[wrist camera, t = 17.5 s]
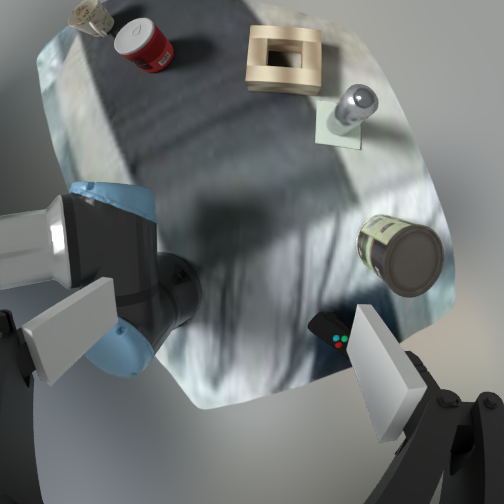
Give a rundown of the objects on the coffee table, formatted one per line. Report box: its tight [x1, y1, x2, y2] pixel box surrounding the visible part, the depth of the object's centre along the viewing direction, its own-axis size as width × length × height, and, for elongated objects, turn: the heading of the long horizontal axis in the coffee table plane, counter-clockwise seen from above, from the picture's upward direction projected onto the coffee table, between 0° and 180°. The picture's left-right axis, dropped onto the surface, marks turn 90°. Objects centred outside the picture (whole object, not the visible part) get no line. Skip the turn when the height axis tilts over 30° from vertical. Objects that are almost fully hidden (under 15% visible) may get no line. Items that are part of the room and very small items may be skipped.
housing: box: [246, 26, 321, 96], centre depth 37 cm, size 12×12×5 cm
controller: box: [308, 312, 352, 360], centre depth 45 cm, size 4×12×10 cm, turn 54°
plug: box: [326, 84, 378, 136], centre depth 34 cm, size 4×4×15 cm
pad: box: [315, 100, 361, 150], centre depth 41 cm, size 8×8×1 cm
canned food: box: [114, 18, 174, 73], centre depth 36 cm, size 8×8×11 cm
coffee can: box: [356, 215, 444, 297], centre depth 39 cm, size 10×10×14 cm
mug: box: [68, 0, 114, 38], centre depth 34 cm, size 8×13×10 cm, turn 35°
